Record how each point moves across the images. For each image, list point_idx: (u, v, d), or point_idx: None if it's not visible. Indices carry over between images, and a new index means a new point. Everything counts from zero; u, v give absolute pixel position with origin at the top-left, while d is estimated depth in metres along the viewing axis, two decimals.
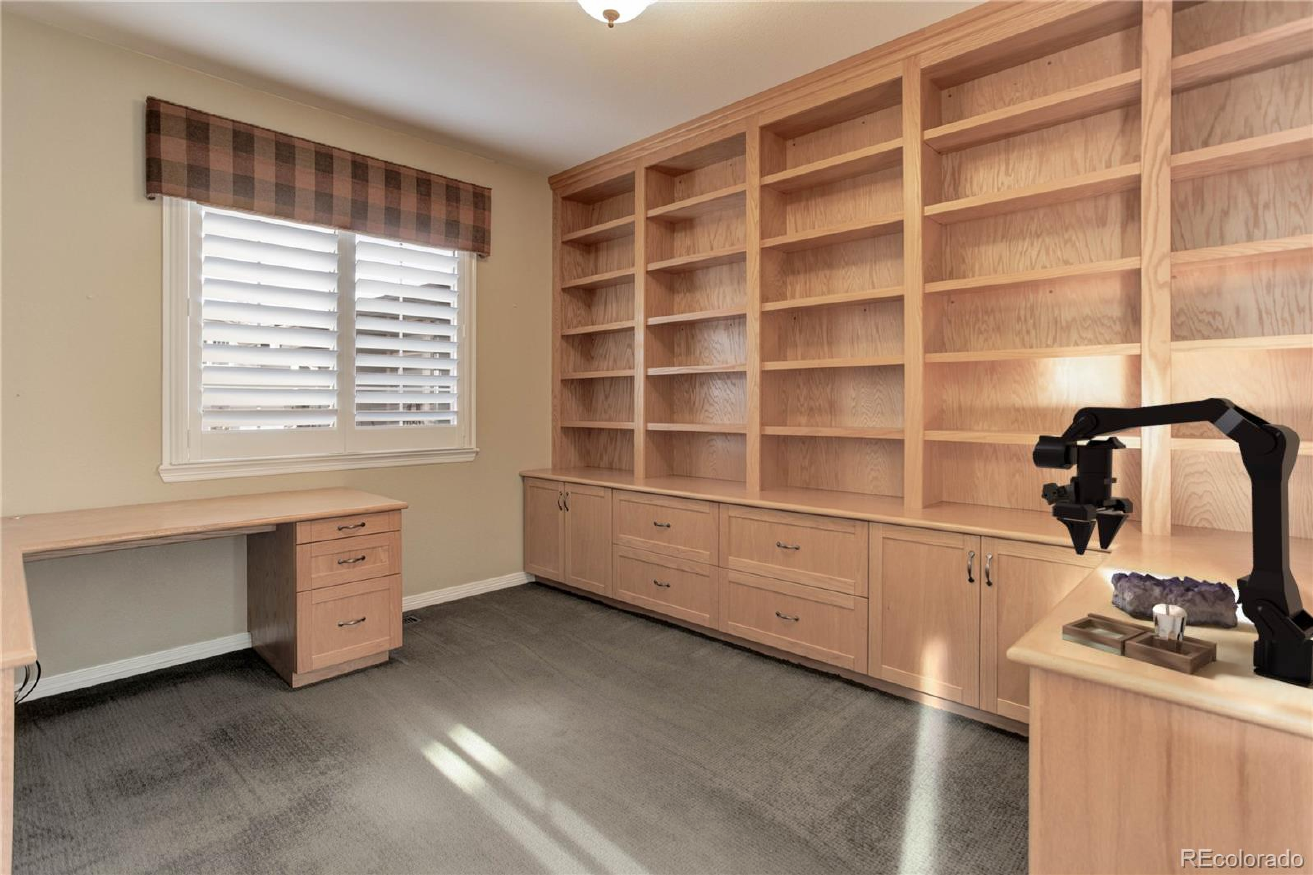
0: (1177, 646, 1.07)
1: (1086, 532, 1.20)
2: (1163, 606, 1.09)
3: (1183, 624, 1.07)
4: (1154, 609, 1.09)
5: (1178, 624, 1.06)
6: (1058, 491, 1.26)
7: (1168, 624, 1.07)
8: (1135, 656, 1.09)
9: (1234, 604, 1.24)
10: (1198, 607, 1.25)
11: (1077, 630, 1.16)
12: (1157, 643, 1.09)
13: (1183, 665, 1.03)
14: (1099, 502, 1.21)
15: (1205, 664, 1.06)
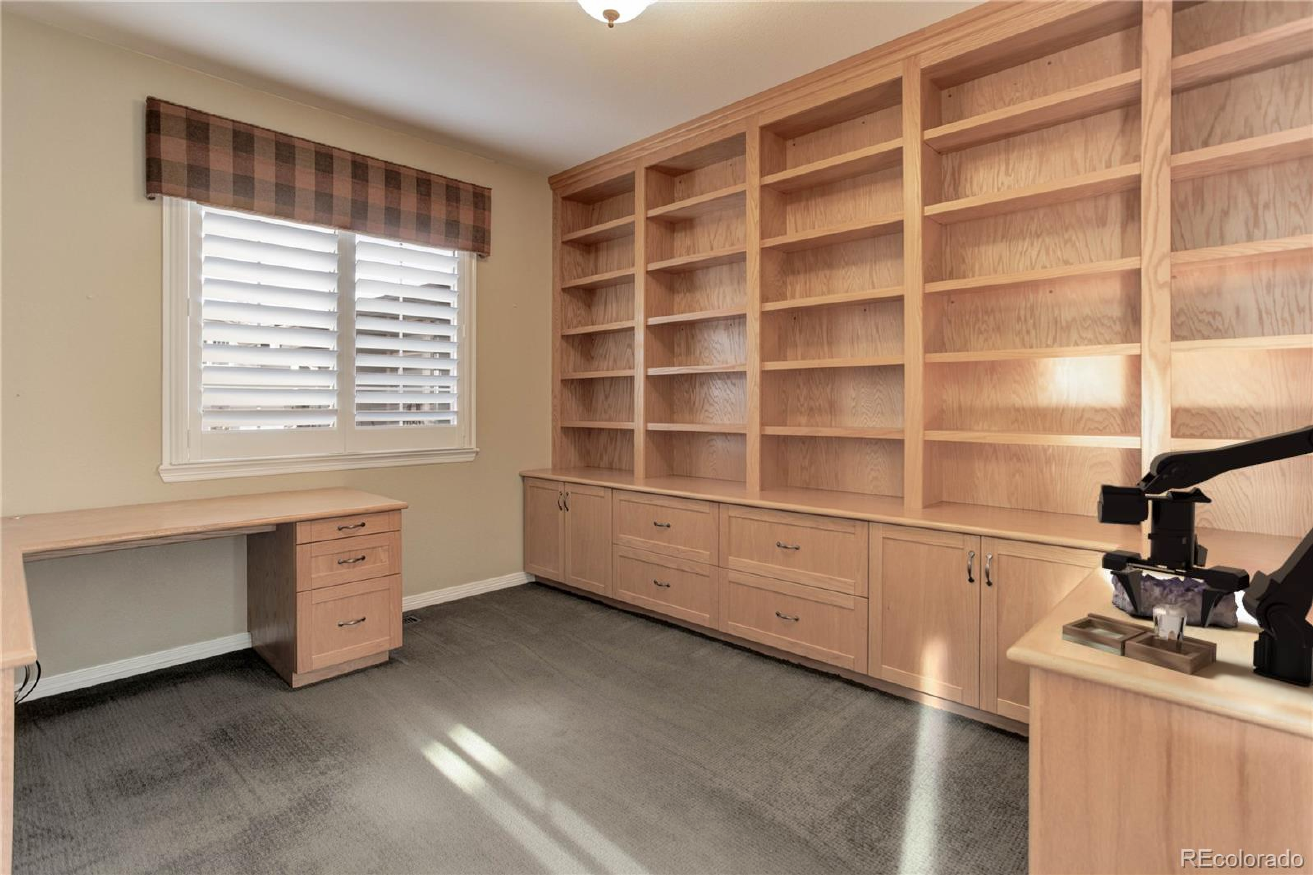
0: (1177, 646, 1.07)
1: None
2: (1163, 606, 1.09)
3: (1183, 624, 1.07)
4: (1154, 609, 1.09)
5: (1178, 624, 1.06)
6: None
7: (1168, 624, 1.07)
8: (1135, 656, 1.09)
9: (1234, 604, 1.24)
10: (1198, 607, 1.25)
11: (1077, 630, 1.16)
12: (1157, 643, 1.09)
13: (1183, 665, 1.03)
14: None
15: (1205, 664, 1.06)
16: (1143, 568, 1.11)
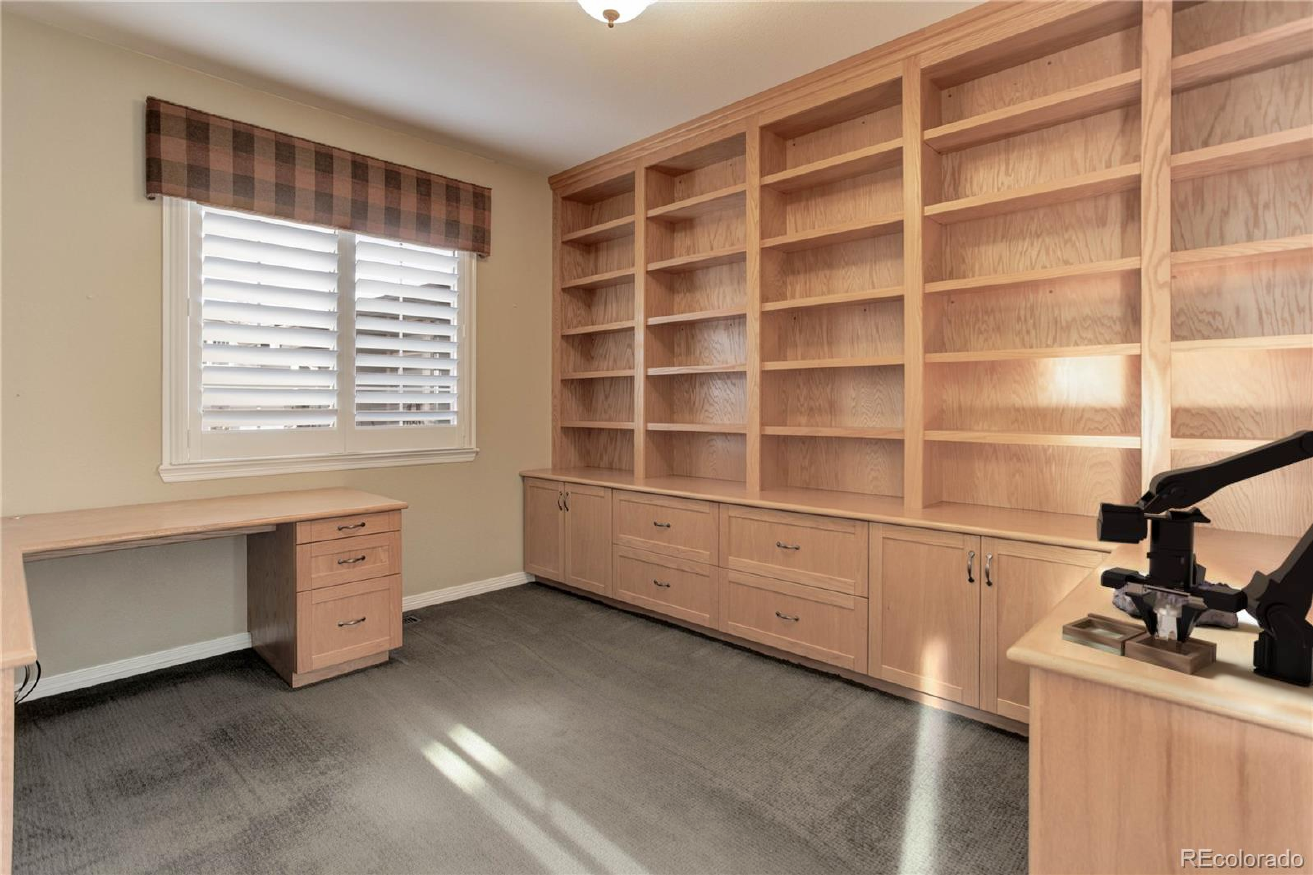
0: (1177, 646, 1.07)
1: None
2: (1163, 606, 1.09)
3: None
4: (1154, 609, 1.09)
5: (1178, 624, 1.06)
6: None
7: (1168, 624, 1.07)
8: (1135, 656, 1.09)
9: None
10: None
11: (1077, 630, 1.16)
12: (1157, 643, 1.09)
13: (1183, 665, 1.03)
14: None
15: (1205, 664, 1.06)
16: None
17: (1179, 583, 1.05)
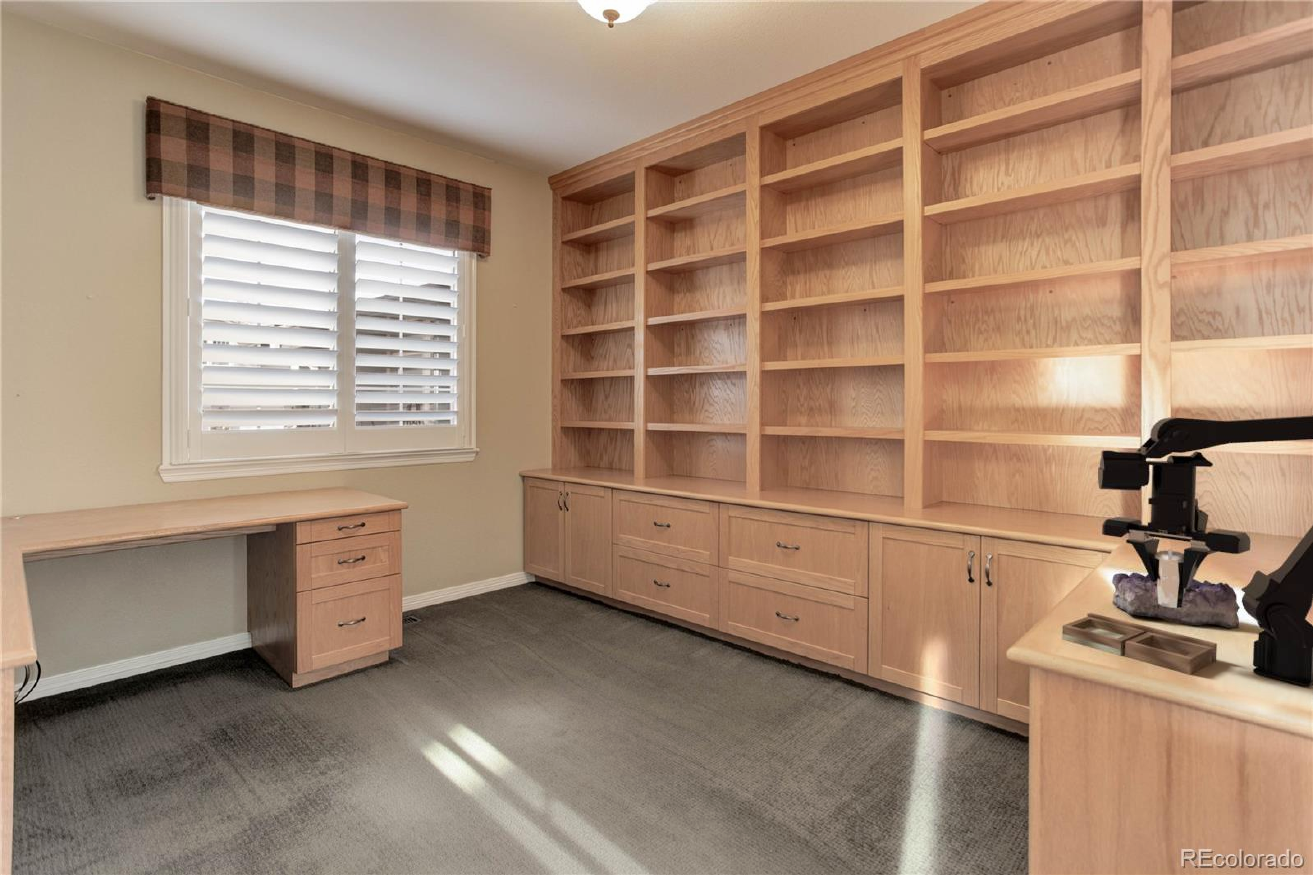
0: (1179, 592, 1.06)
1: None
2: (1165, 552, 1.08)
3: None
4: (1156, 555, 1.09)
5: (1180, 569, 1.06)
6: None
7: (1170, 570, 1.06)
8: (1135, 656, 1.09)
9: (1235, 605, 1.24)
10: (1199, 607, 1.25)
11: (1077, 630, 1.16)
12: (1159, 590, 1.08)
13: (1183, 665, 1.03)
14: None
15: (1205, 664, 1.06)
16: None
17: (1181, 527, 1.04)
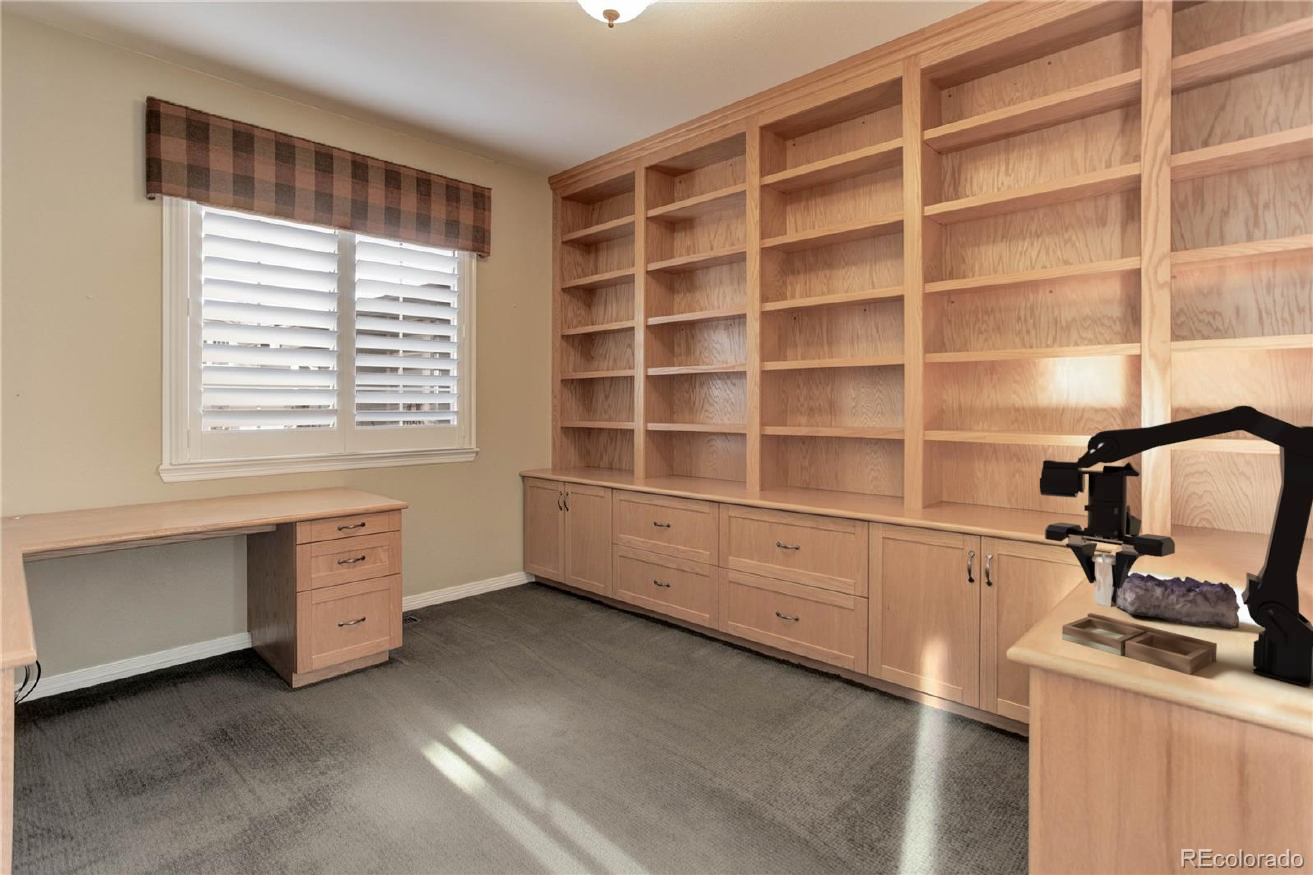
0: (1112, 592, 1.15)
1: None
2: (1101, 555, 1.16)
3: None
4: (1092, 558, 1.17)
5: (1113, 571, 1.14)
6: None
7: (1104, 571, 1.15)
8: (1135, 656, 1.09)
9: (1236, 604, 1.24)
10: (1200, 607, 1.25)
11: (1077, 630, 1.16)
12: (1095, 590, 1.17)
13: (1183, 665, 1.03)
14: None
15: (1205, 664, 1.06)
16: None
17: (1113, 532, 1.12)
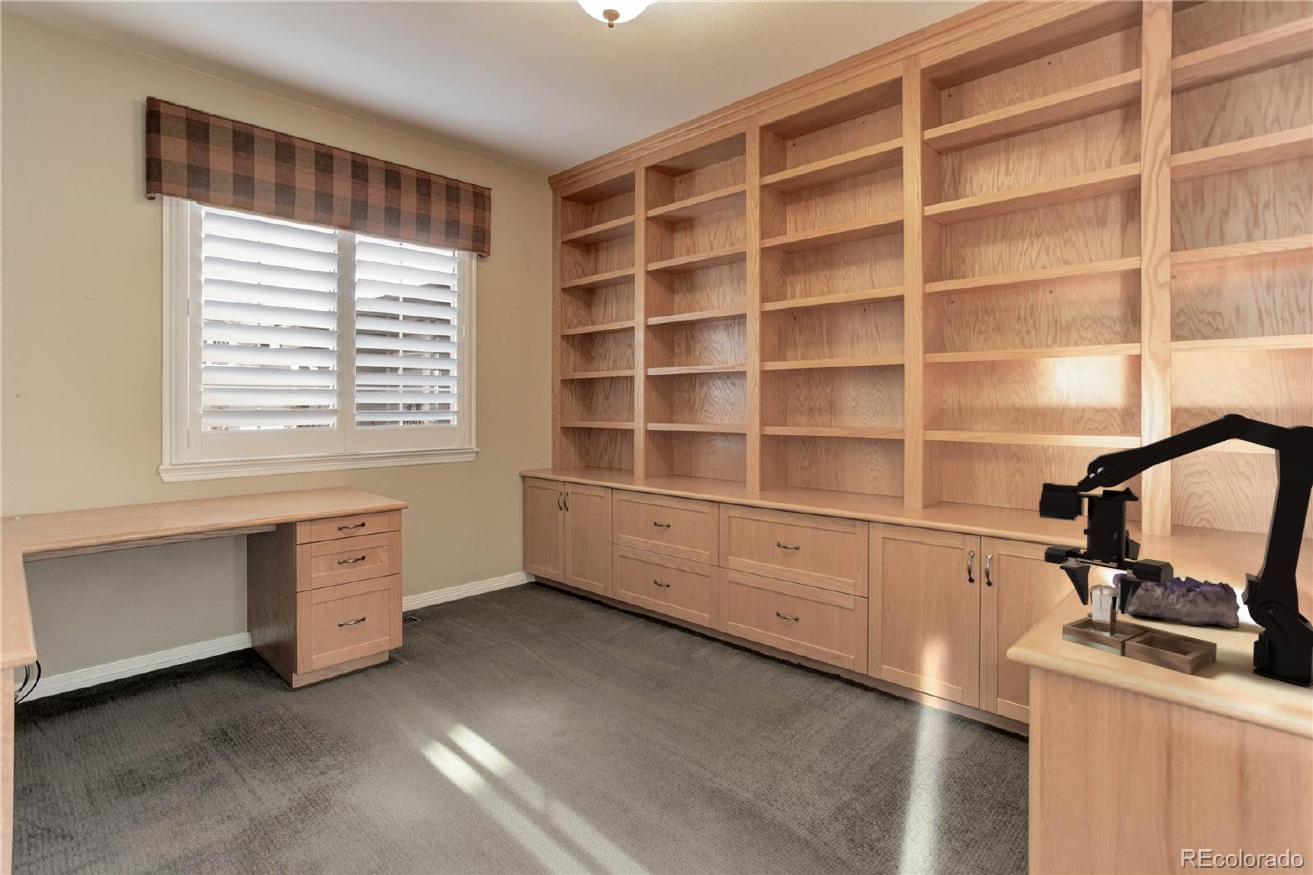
0: (1111, 623, 1.15)
1: None
2: (1098, 586, 1.17)
3: (1116, 603, 1.15)
4: (1090, 589, 1.17)
5: (1111, 603, 1.15)
6: None
7: (1102, 603, 1.15)
8: (1135, 656, 1.09)
9: (1236, 604, 1.24)
10: (1200, 607, 1.25)
11: (1077, 630, 1.16)
12: (1094, 621, 1.17)
13: (1183, 665, 1.03)
14: None
15: (1205, 664, 1.06)
16: (1081, 561, 1.19)
17: (1112, 556, 1.13)
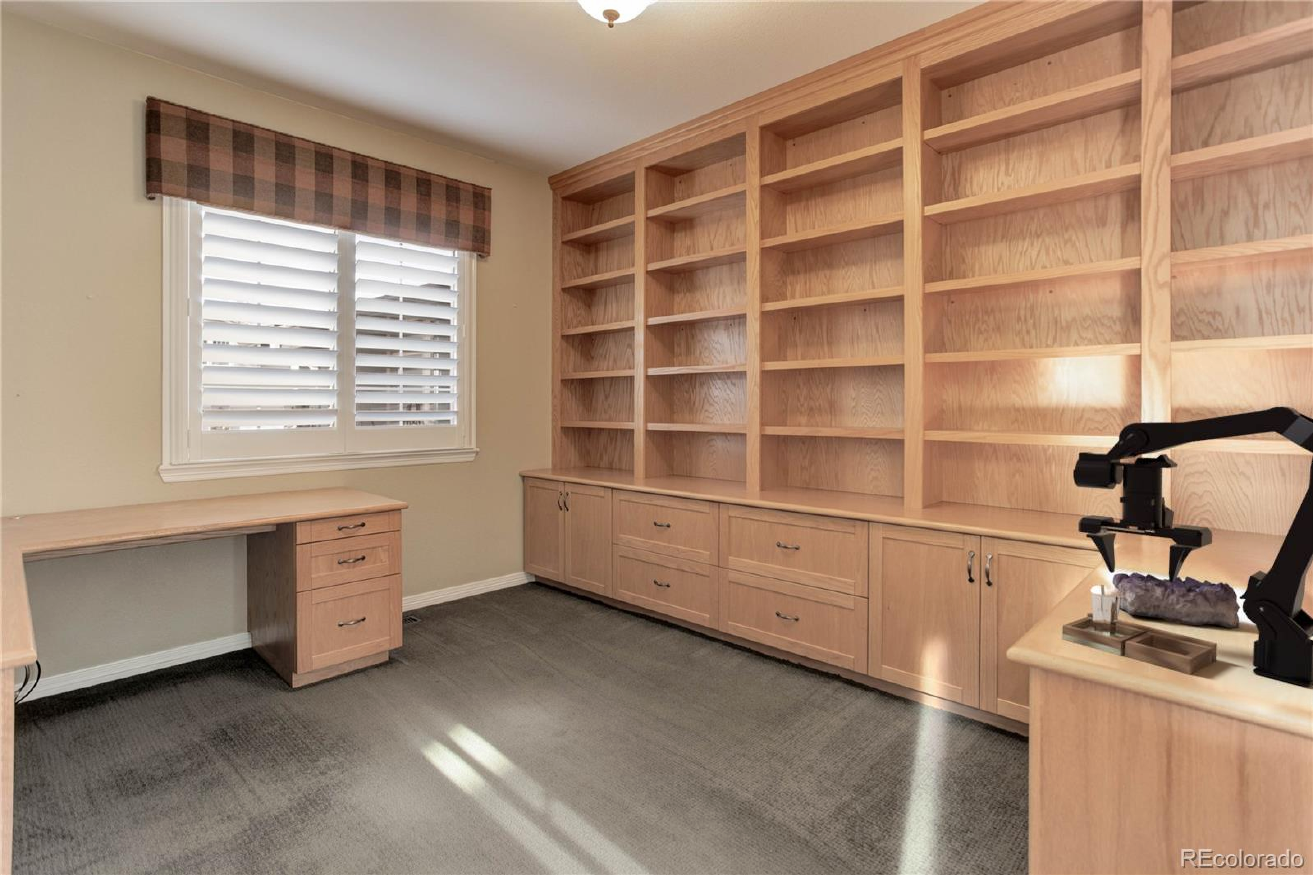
0: (1111, 624, 1.15)
1: None
2: (1100, 587, 1.17)
3: (1117, 603, 1.15)
4: (1092, 590, 1.17)
5: (1112, 603, 1.14)
6: None
7: (1103, 603, 1.15)
8: (1135, 656, 1.09)
9: (1236, 604, 1.24)
10: (1200, 607, 1.25)
11: (1077, 630, 1.16)
12: (1094, 621, 1.17)
13: (1183, 665, 1.03)
14: None
15: (1205, 664, 1.06)
16: (1116, 530, 1.20)
17: (1150, 523, 1.13)
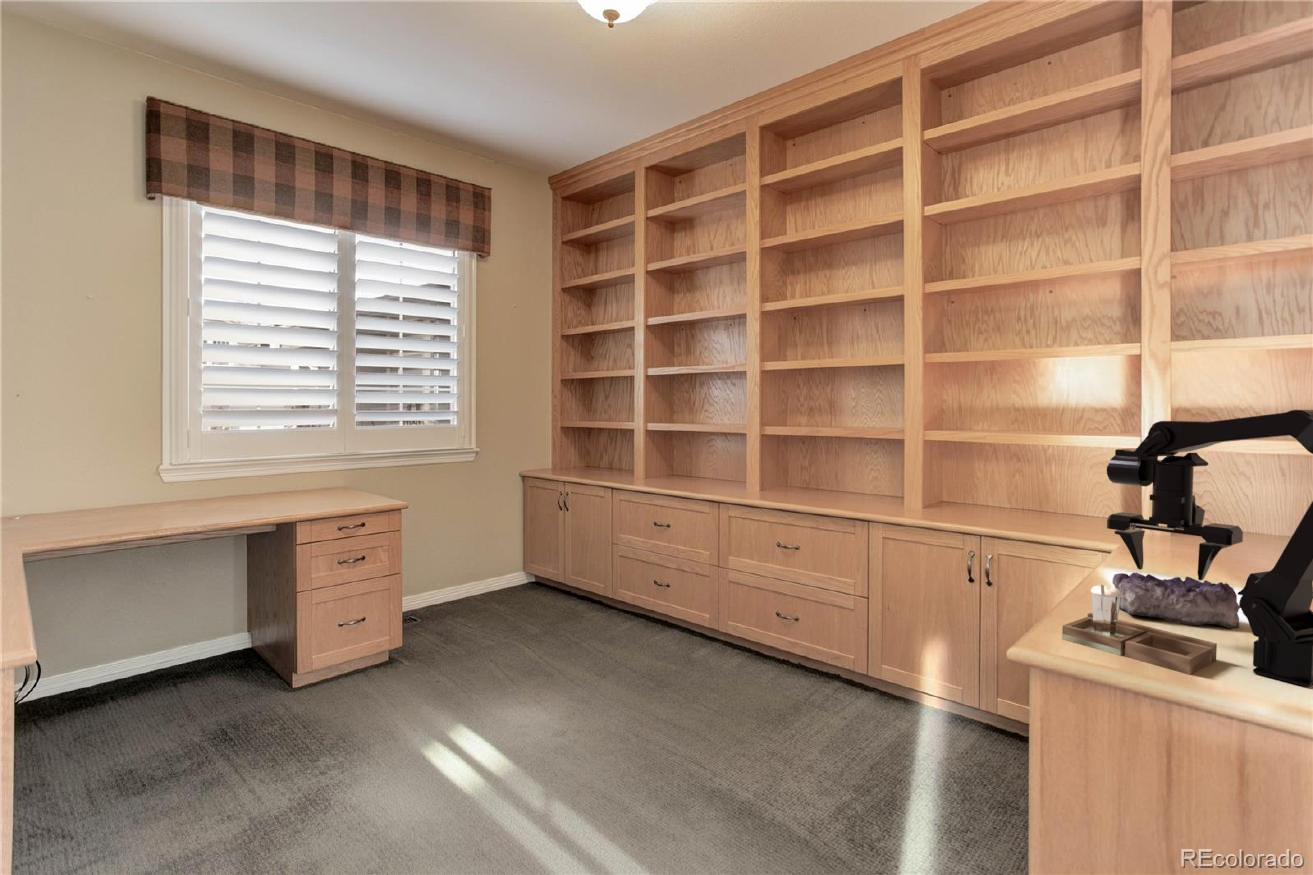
0: (1111, 624, 1.15)
1: None
2: (1100, 587, 1.17)
3: (1117, 603, 1.15)
4: (1092, 590, 1.17)
5: (1112, 603, 1.14)
6: None
7: (1103, 603, 1.15)
8: (1135, 656, 1.09)
9: (1236, 604, 1.24)
10: (1200, 607, 1.25)
11: (1077, 630, 1.16)
12: (1094, 621, 1.17)
13: (1183, 665, 1.03)
14: None
15: (1205, 664, 1.06)
16: (1145, 527, 1.20)
17: (1179, 521, 1.14)
